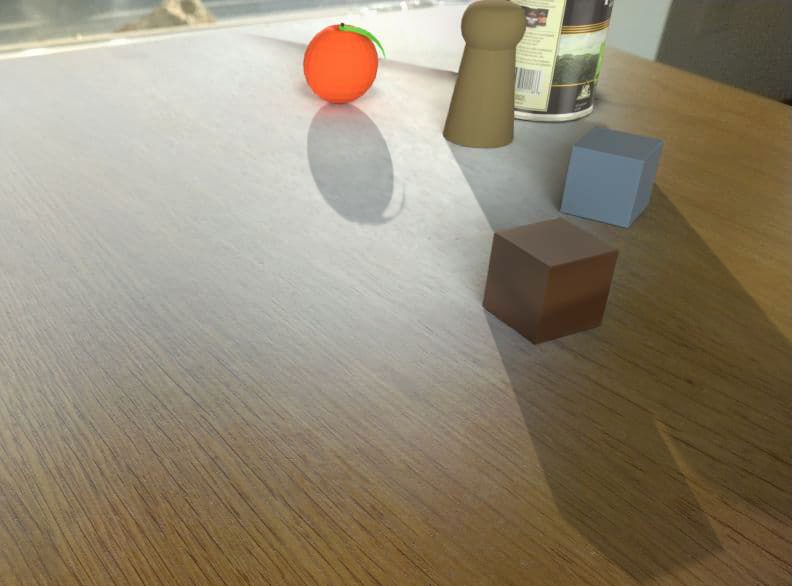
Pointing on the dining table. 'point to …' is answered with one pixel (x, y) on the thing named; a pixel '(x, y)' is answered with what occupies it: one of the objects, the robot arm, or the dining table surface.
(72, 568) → the dining table surface
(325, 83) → the clementine
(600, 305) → the copper block
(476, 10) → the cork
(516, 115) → the coffee can
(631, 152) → the slate block
